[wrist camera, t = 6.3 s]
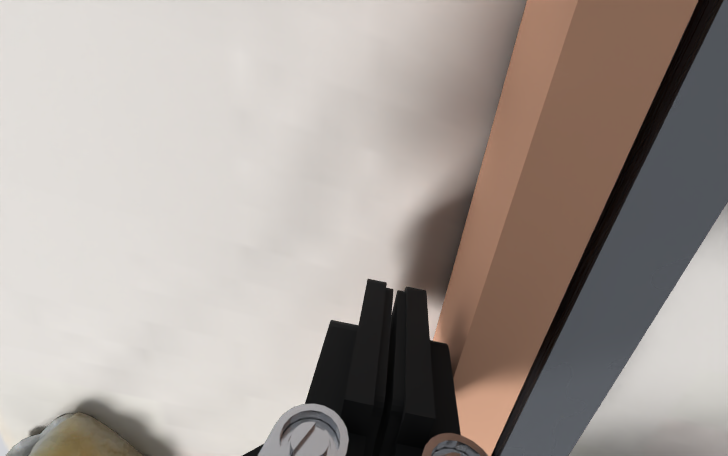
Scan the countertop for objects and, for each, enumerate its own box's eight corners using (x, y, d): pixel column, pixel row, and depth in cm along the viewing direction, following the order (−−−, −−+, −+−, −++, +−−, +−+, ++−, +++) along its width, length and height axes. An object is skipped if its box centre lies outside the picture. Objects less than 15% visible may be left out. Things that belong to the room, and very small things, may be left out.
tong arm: (615, -320, 6) (786, -633, 3) (718, -311, 6) (985, -628, 3) (409, 424, 14) (409, 512, 11) (450, 433, 14) (460, 522, 11)
